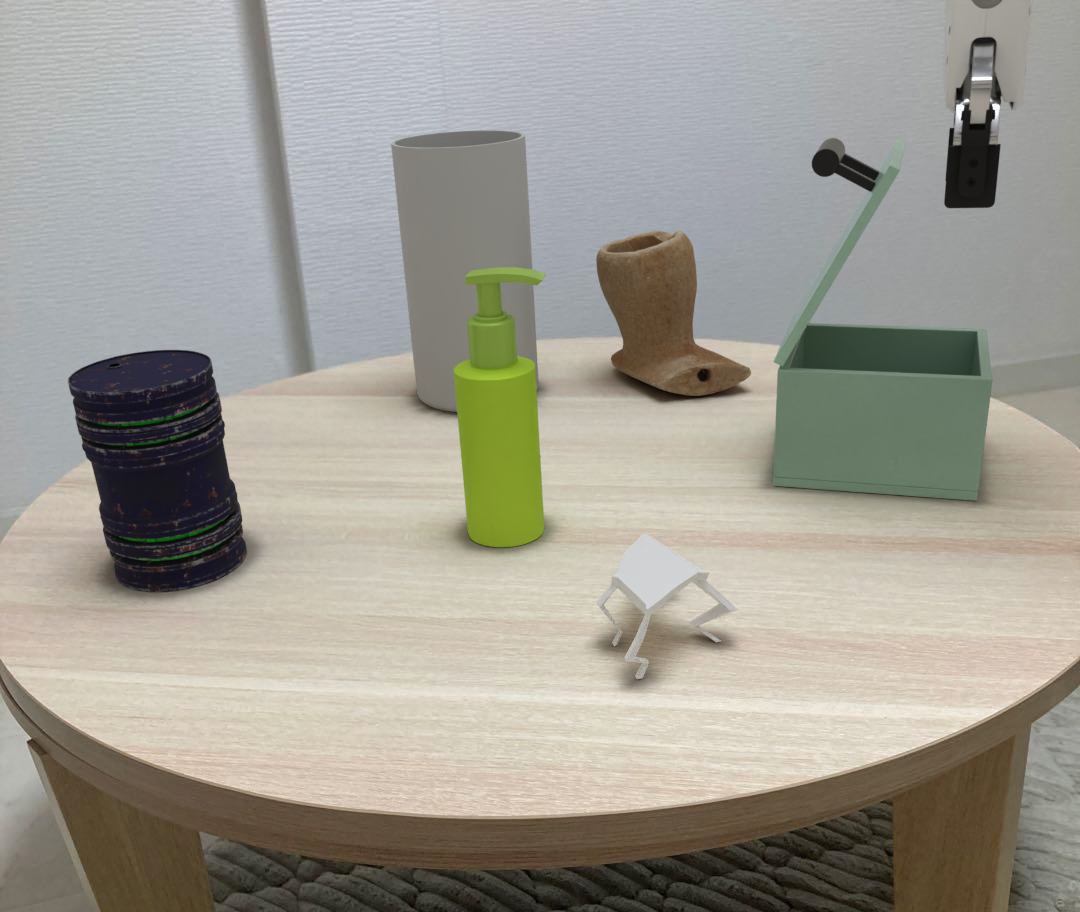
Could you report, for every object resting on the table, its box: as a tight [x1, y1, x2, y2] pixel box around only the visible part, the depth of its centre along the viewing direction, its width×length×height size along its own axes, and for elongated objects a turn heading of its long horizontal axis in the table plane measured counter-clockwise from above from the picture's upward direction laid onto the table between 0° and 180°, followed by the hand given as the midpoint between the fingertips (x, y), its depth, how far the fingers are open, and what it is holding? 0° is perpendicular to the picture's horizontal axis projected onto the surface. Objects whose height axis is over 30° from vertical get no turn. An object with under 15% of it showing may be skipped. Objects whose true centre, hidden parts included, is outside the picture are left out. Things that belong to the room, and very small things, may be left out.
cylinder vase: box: [390, 129, 540, 413], centre depth 112 cm, size 12×12×25 cm
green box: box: [772, 322, 993, 502], centre depth 94 cm, size 16×14×10 cm
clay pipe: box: [595, 230, 752, 397], centre depth 114 cm, size 15×12×15 cm
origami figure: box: [596, 531, 739, 680], centre depth 72 cm, size 12×8×5 cm
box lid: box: [773, 137, 906, 367], centre depth 90 cm, size 16×14×6 cm
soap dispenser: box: [454, 267, 547, 548], centre depth 83 cm, size 6×7×20 cm
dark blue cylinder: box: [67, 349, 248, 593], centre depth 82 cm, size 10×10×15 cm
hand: (968, 194), depth 81 cm, fingers open, 9 cm apart
